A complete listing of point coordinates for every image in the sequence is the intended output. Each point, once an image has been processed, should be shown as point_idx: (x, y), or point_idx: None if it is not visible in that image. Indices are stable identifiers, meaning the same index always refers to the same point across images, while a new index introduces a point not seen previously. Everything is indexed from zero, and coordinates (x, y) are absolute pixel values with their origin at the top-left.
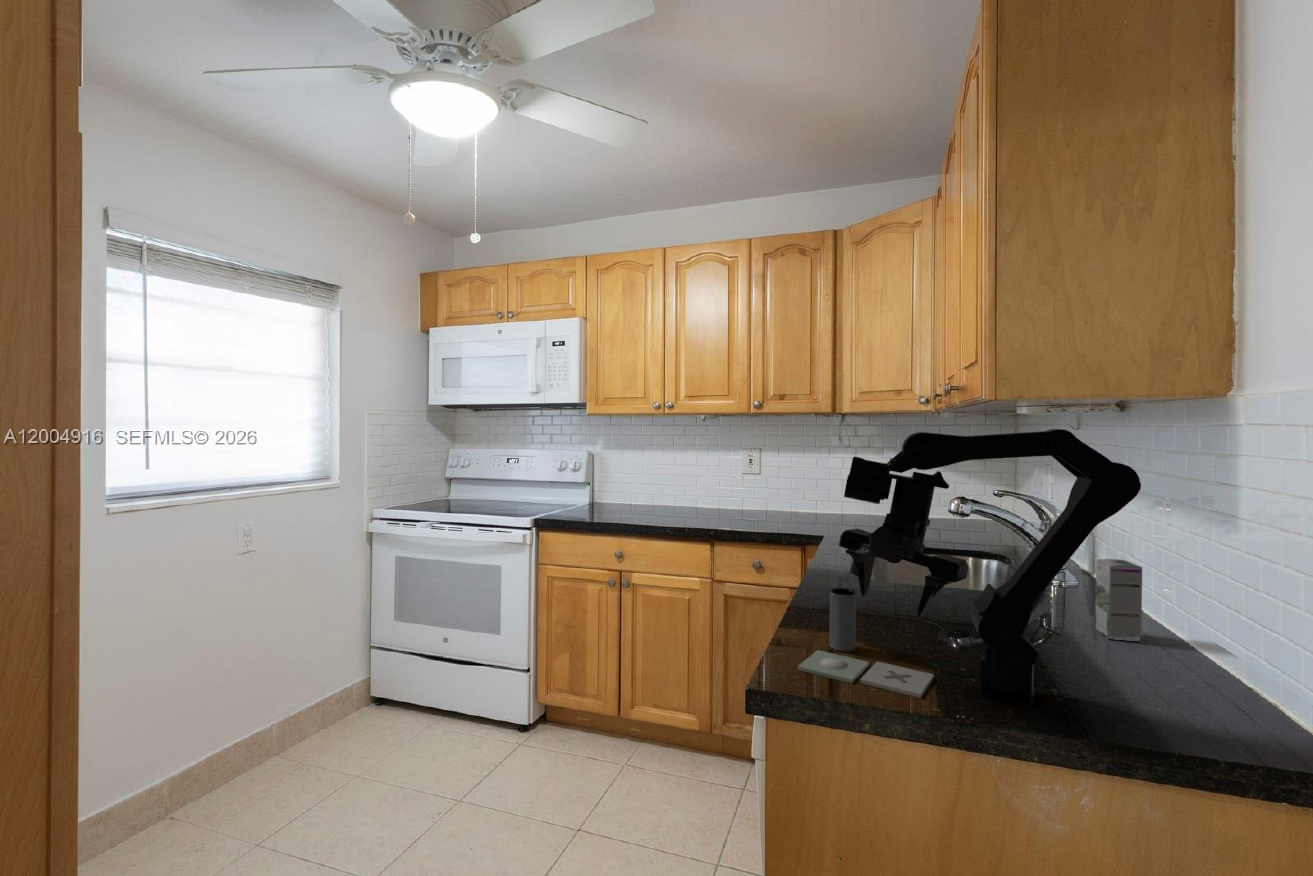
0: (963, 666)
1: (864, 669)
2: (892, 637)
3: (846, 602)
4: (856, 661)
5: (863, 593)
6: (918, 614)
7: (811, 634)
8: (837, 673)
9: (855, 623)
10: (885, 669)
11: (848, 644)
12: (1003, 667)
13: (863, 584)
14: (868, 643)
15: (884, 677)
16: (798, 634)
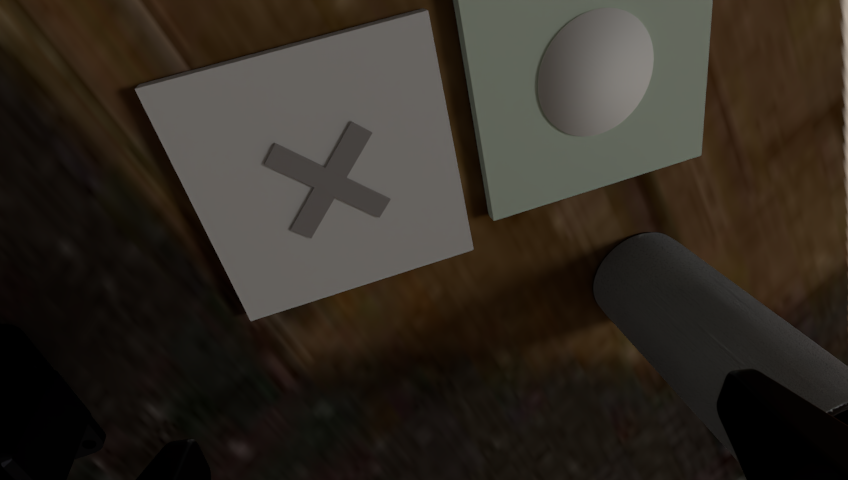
0: (254, 467)
1: (480, 158)
2: (539, 464)
3: None
4: (533, 182)
5: (750, 385)
6: (176, 452)
7: (762, 284)
8: None
9: (655, 364)
10: (408, 209)
11: (619, 274)
12: None
13: (838, 458)
14: (578, 373)
15: (362, 126)
16: (801, 248)
